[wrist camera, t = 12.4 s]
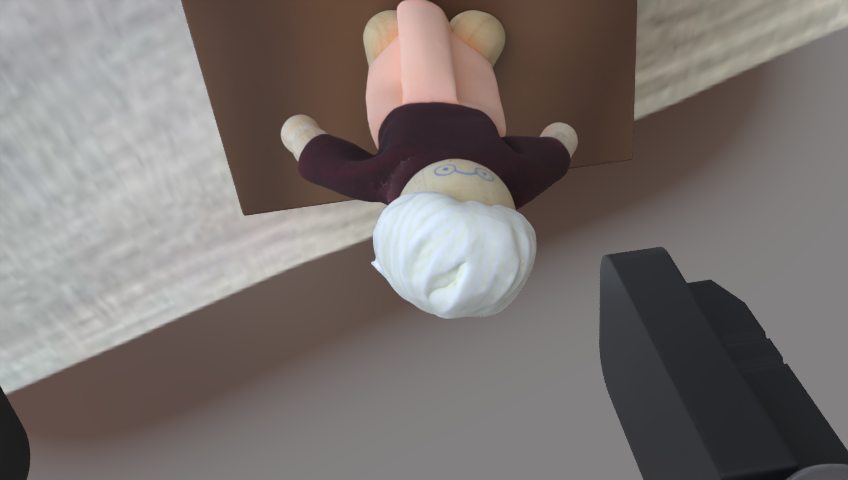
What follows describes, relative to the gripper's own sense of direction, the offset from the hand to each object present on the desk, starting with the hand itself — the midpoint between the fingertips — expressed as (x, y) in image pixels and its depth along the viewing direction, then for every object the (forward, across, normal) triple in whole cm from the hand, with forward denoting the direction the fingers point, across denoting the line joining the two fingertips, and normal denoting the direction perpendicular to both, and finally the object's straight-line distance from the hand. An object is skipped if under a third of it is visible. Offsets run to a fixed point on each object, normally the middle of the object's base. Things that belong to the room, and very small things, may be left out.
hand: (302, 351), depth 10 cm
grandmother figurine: (+17, -3, +2) cm, 17 cm away
